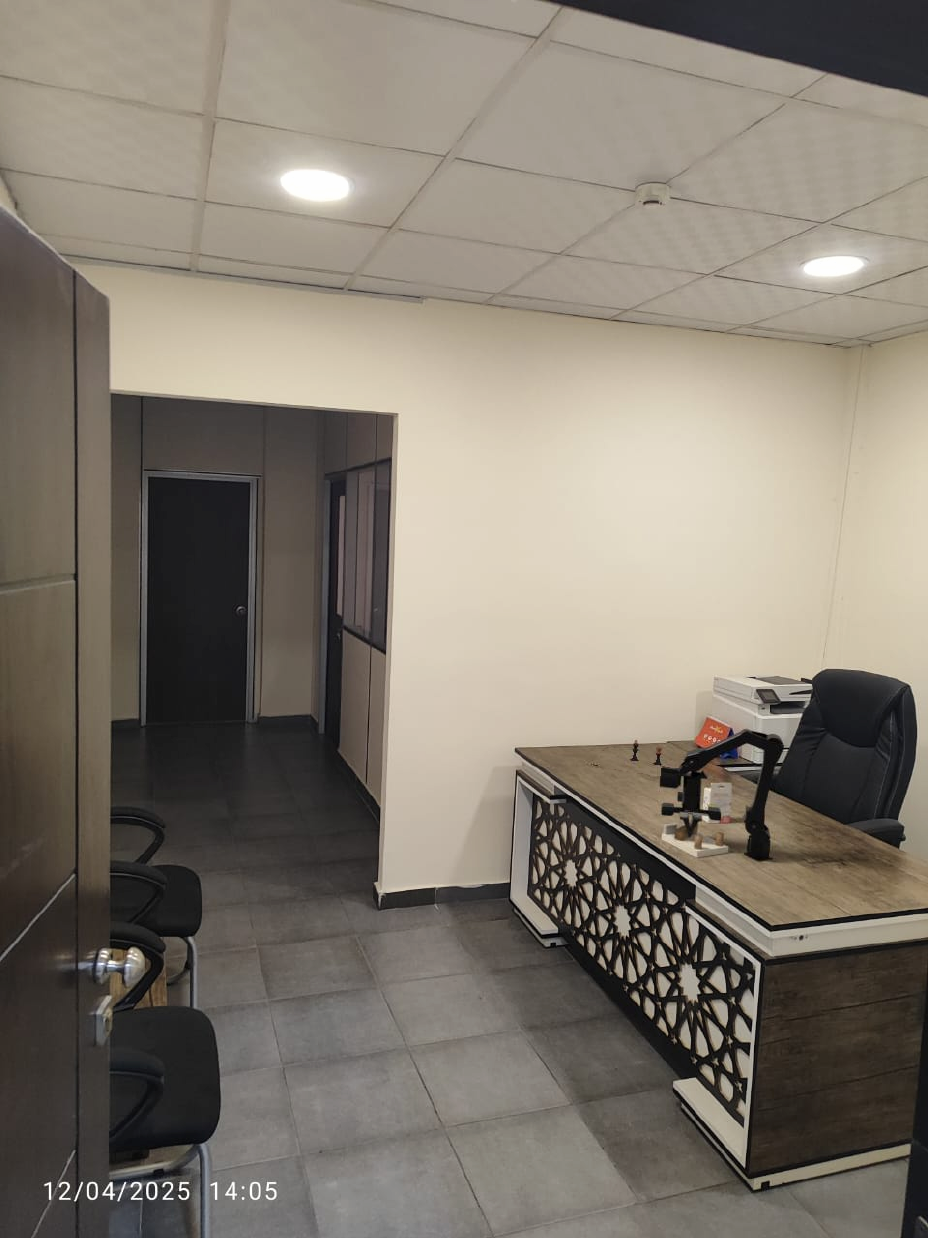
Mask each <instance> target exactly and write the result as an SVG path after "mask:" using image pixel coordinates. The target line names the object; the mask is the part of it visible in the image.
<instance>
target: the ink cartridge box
mask: <svg viewBox="0 0 928 1238" xmlns="http://www.w3.org/2000/svg"><path fill="white" fill-rule="evenodd" d="M732 785H733V783H732V782H711V783H710V787H704V789H703V800H702V801H703V802H702V809H704V810H708V807H717V808H719V809H720V810H721V821H717V820H711V819H710V818H709V816H704V815H702V821H704V822H706V823H707V824H730V822H731V809H732V797H733V796H732V795H733V792H732V789H733V788H732ZM720 786H722V787H720Z"/></svg>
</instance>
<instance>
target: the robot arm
mask: <svg viewBox="0 0 928 1238" xmlns="http://www.w3.org/2000/svg"><path fill="white" fill-rule="evenodd" d="M744 745H749V746H753V747H754V748H757V749H760V750H762V751H763V752H762V763H761V767H760V772H759V774H758V775H759V776H758V781H757V784H756V788H755V791H754V796H753V802H752V803H751V805H750V806H749V805H745V812H744V814H743V816H742V822H743V824H744V828H745V830H746V832H747V833H748V834H749V835H748V838H747V843H746V847H747V848H746V851H744V852H743V855H744V856H747V857H749V858H751V859H754V860H755V861H758V862H761V861H766V860H767V861H768V860H772V859H773V858H774V857H773V856H771V855H770V852H771V843H772V842H771V839H772V838H771V834H770V833H771V832H770V828H769V827H768V826H767V825H766V824H765V821H766V820H765V817H766V805H767V801H768V797H769V794H770V793H769V792H770V789H771V785H772V780H773V776H774V772H775V768H776V766H777V764H778V762H779V760H780V759H781V756H782V755H783V753H784V749H785V745H784V742H783V739H782V738H781V736H780V735H778V734H776V733H771V734H770V733H769V734H766V733H764V732H760V731H754V730H751V729H749V728H743V729H742V730H740V731H739V732H737V733H734V734H732V735H730V736H728V737H726V738H724V739H722V740H720V741H718V742H716V743H714V744H711V745H709V746H705V747H699V748H695V749H692V750H689V751H688V752H687V753H686V754H685V756H684V758H685V759H684V762H683V763H682V764H681V765H680V766H679V768H670V767H665V766H662V768H661V776H660V777H659V787H660V788H664V789H673V790H678V788H679V787H682V791H677V799H676V801H677V802H679V803H681V806H675V805H674V804H675V803H673V802H662V803H661V805H660V806H661V809H660V812H661V813H660V815H661V816H667V817H672V816H673V815H675V814H679V820H681V821H683V823H684V825H685V826H686V829H687V832H688V836H689V838H690V837H691V835H692V833H693V831H694V829H695V827H696V825H697V824H698V825H699V822H703V819H702V815H704V816H709V818H710V819H711V820H717V821H721V810H720V809H719V808H717V807H708V810H704V809H703V808H701V798H702V782H703V780H707V779H708V777H709V775H708V773H707V772H705V770H704V769H703V768H704V767H706V766H707V765H708V764H709V763H710V762H712V761H713V760H715V759H716V758H719V757H720V756H721V757H722V756H723V755H726V754H728V753H729V752H732V751H734V750H736V749H738V748H739V747H740V748H741V747H742V746H744ZM681 776H682V777H681ZM682 779H683V783H682ZM690 815H691V819H690ZM690 822H691V825H690V824H689V823H690Z"/></svg>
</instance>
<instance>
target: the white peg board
mask: <svg viewBox="0 0 928 1238" xmlns="http://www.w3.org/2000/svg"><path fill="white" fill-rule="evenodd" d="M677 828H678V824H677V823H674V822H673V823H668V824H667V823H664V824H663V833H661V840H662V841H664V842H666V843H668V844H670V845H672V846H674V847H675V848H678V849H679V850H680V851H684V852H685V853H687V854H689V855H691V856H693V857H695V858H701V857H702V858H703V857H709V856H715V855H717V856H718V855H721V854H722V855H723V854H727V853H729V846H728V845H726V844H724V836H725V833H724V832H721V831H717V832H716V838H715V839H713V838H711V837H709V836H707V835H704V834H703V833H701V832H698V831H697V833H695V834H693V835H691V837H690V838H689V837H687V838H685V839H683V840H678V839H674V838H675V829H677Z"/></svg>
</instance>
